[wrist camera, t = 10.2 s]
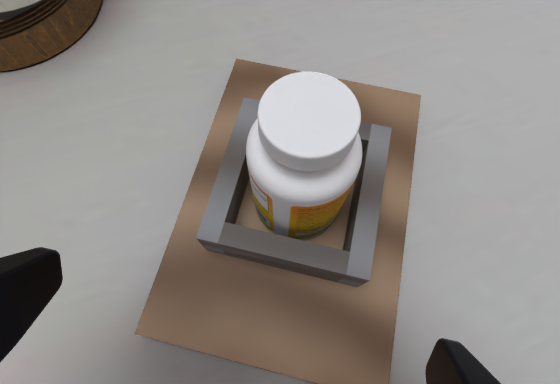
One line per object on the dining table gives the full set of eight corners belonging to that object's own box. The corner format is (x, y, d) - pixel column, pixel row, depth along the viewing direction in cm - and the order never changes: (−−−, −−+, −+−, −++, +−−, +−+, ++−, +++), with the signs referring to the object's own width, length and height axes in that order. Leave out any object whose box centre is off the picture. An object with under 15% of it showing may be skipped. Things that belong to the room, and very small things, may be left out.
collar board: (380, 398, 19) (406, 415, 15) (142, 333, 20) (110, 334, 16) (414, 105, 26) (438, 65, 22) (238, 69, 28) (231, 26, 24)
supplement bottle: (350, 181, 23) (398, 81, 14) (320, 255, 21) (354, 198, 12) (275, 151, 23) (274, 39, 14) (240, 221, 22) (213, 142, 13)
